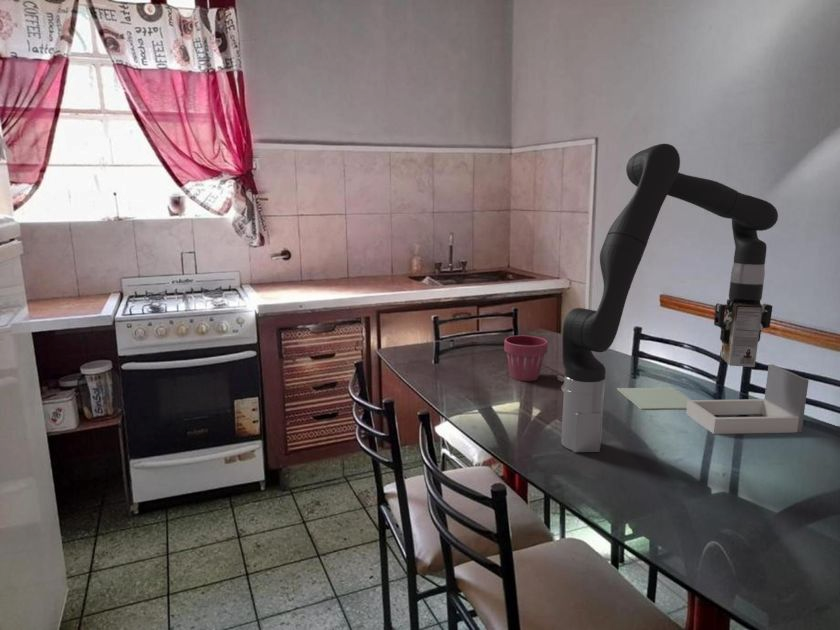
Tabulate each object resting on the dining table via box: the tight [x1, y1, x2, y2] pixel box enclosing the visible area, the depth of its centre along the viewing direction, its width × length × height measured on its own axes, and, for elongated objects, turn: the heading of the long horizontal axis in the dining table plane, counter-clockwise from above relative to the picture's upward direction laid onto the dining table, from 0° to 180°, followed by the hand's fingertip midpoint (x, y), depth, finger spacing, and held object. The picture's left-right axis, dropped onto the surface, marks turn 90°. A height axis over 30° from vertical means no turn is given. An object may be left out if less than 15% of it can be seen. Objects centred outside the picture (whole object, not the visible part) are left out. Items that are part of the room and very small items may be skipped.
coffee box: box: [720, 299, 763, 368], centre depth 154 cm, size 9×6×16 cm
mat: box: [616, 386, 692, 411], centre depth 176 cm, size 18×18×1 cm
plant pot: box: [503, 334, 549, 382], centre depth 195 cm, size 14×14×13 cm
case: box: [685, 364, 810, 435], centre depth 156 cm, size 14×23×14 cm, turn 93°
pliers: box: [556, 374, 565, 393], centre depth 188 cm, size 10×2×15 cm
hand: (739, 343), depth 154 cm, fingers closed on coffee box, 7 cm apart
